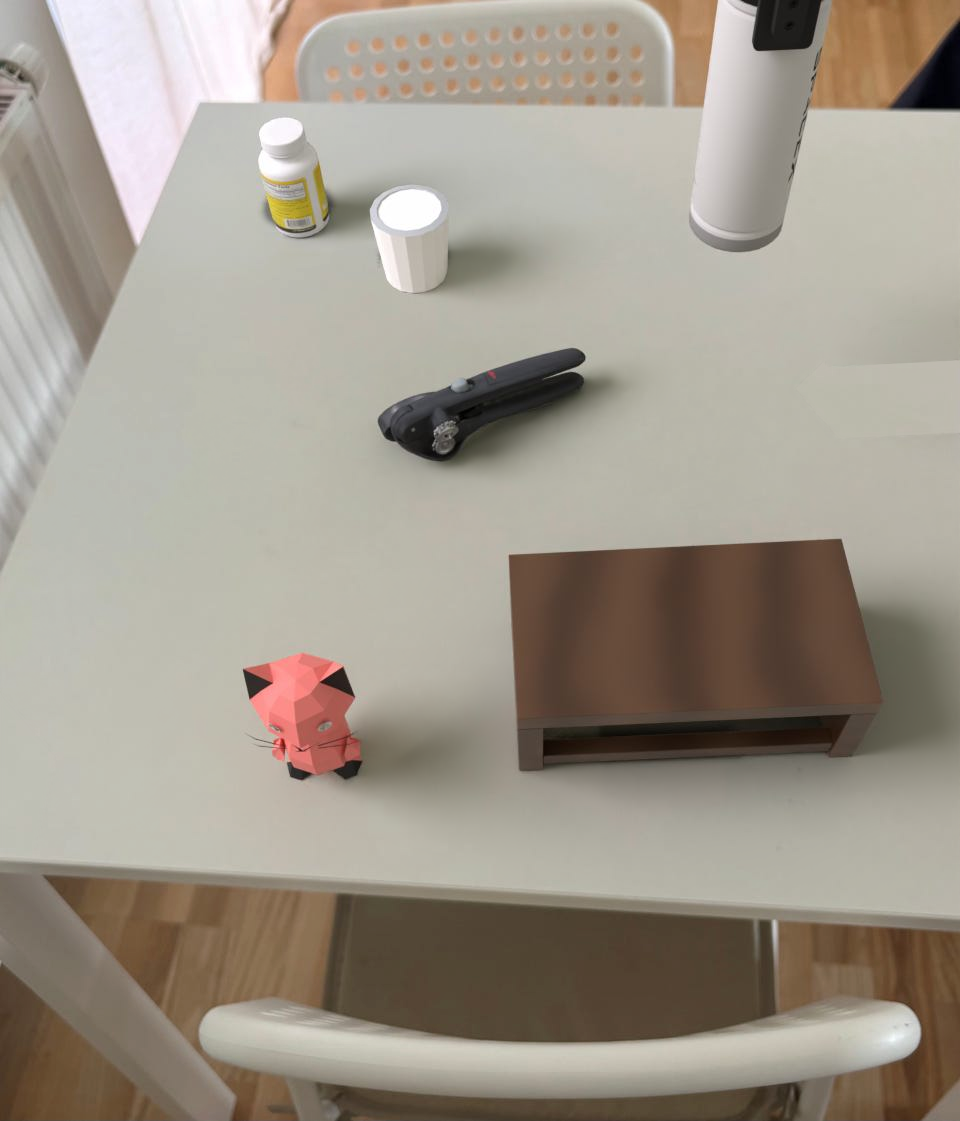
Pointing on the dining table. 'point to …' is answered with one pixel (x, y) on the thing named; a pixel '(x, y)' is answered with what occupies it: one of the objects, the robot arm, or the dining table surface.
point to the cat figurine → (306, 714)
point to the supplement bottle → (292, 178)
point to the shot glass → (412, 236)
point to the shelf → (689, 649)
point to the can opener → (479, 403)
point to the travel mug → (750, 131)
